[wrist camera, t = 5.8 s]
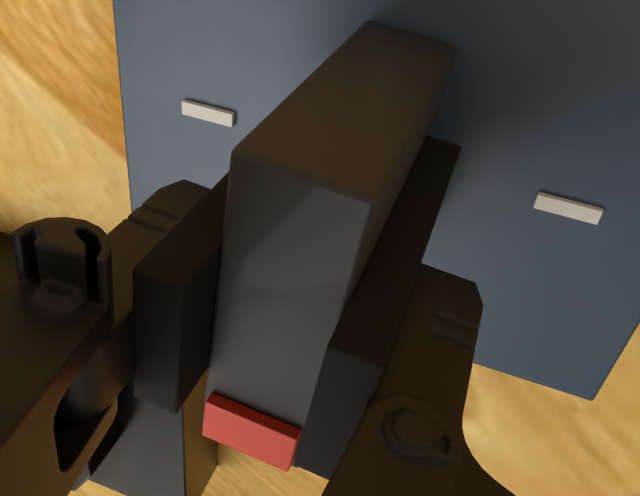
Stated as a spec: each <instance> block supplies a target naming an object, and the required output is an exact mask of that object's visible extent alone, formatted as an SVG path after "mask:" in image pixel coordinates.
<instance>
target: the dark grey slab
mask: <svg viewBox="0 0 640 496" xmlns="http://www.w3.org/2000/svg"><path fill="white" fill-rule="evenodd" d="M456 54H457V48H456V47H455V46H452V45H449V44H446V43H442V42H439V41H436V40H432V39H429V38H426V37H423V36H419V35H416V34H413V33H409V32H406V31H403V30H399V29H396V28H393V27H390V26H386V25H383V24H380V23H376V22H373V21H366V22H365V23H364V24H363V25H362V26H361V27H360V28H358V29H357V30H356V31H355V32H354V33H353V34H352V35H351V36H350V37H349V38H348V39H347V40H346V41H345V42H344V43H343V44H342V45H341V46H340V47H339V48H338V49H337V50H336V51H334V52H333V53H332V54H331V55H330V56H329V57H328V58H327V59H326V60H325V61H324V62H323V63H322V64H321V65H320V66H319V67H318V68H317V69H316V70H315V71H314V72H313V73H311V74H310V75H309V76H308V77H307V78H306V79H305V80H304V81H303V82H302V83H301V84H300V85H299V86H298V87H297V88H296V89H295V90H294V91H293V92H292V93H291V94H290V95H288V96H287V97H286V98H285V99H284V100H283V101H282V102H281V103H280V104H279V105H278V106H277V107H276V108H275V109H274V110H273V111H272V112H271V113H270V114H269V115H268V116H267V117H266V118H264V119H263V120H262V121H261V122H260V123H259V124H258V125H257V126H256V127H255V128H254V129H253V130H252V131H251V132H250V133H249V134H248V135H247V136H246V137H245V138H244V139H243V140H241V141H240V142H239V143H238V144H237V145H236V146H235V147H234V148H233V150H232V151H231V159H230V168H229V177H228V187H227V196H226V205H225V215H224V224H223V233H222V243H221V252H220V261H219V271H218V280H217V289H216V299H215V308H214V317H213V327H212V336H211V345H210V355H209V364H208V373H207V383H206V392H205V401H204V411H203V420H202V426H203V431H202V435H203V436H205V437H208V438H210V439H212V440H215V441H217V442H219V443H222V444H224V445H226V446H229V447H231V448H233V449H236V450H238V451H240V452H243V453H245V454H247V455H250V456H252V457H254V458H256V459H259V460H261V461H263V462H266V463H268V464H270V465H273V466H275V467H277V468H280V469H282V470H284V471H287V472H288V471H289V469H290V467H291V465H292V466H294V467H298V466H296V465H294V461H295V458H296V454H297V451H298V447H299V444H300V440H301V437H302V433H303V429H304V426H305V422H306V419H307V415H308V412H309V408H310V405H311V401H312V398H313V394H314V390H315V387H316V383H317V380H318V376H319V373H320V369H321V366H322V362H323V359H324V355H325V351H326V348H327V345H328V343H329V341H330V338H331V336H332V334H333V332H334V330H335V328H336V326H337V324H338V322H339V319H340V317H341V315H342V313H343V311H344V309H345V307H346V305H347V303H348V301H349V298H350V296H351V294H352V293H353V291H354V289H355V287H356V285H357V283H358V281H359V278H360V276H361V274H362V272H363V270H364V268H365V266H366V264H367V261H368V259H369V257H370V255H371V253H372V251H373V249H374V247H375V245H376V242H377V240H378V238H379V236H380V234H381V232H382V230H383V228H384V225H385V223H386V221H387V219H388V217H389V215H390V213H391V211H392V208H393V206H394V204H395V202H396V200H397V198H398V196H399V194H400V192H401V189H402V187H403V185H404V183H405V181H406V179H407V177H408V175H409V172H410V170H411V168H412V166H413V164H414V162H415V160H416V158H417V155H418V153H419V151H420V149H421V147H422V145H423V143H424V141H425V139H426V136H427V135H428V136H429V135H430V132H431V129H432V126H433V123H434V120H435V117H436V114H437V111H438V108H439V105H440V102H441V99H442V96H443V93H444V90H445V87H446V84H447V81H448V78H449V75H450V72H451V69H452V66H453V63H454V60H455V57H456Z"/></svg>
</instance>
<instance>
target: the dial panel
mask: <svg viewBox="0 0 640 496" xmlns="http://www.w3.org/2000/svg"><path fill="white" fill-rule="evenodd" d="M112 1H113V12H114V23H115V34H116V45H117V56H118V67H119V78H120V89H121V100H122V111H123V122H124V133H125V144H126V155H127V166H128V177H129V188H130V199H131V209H132V212H133V211H134V210H136V209H137V208H138V207H141V206H142V203H143V202H145V201H146V200H147V199H148V198H149V197H150V196H151V195H152V194H154V193H155V192H156V191H157V190H158V189H159V188H162V187H165V186H167V185H170V184H172V183H175V182H178V181H180V180H183V179H185V180H188V181H190V182H193V183H196V184H199V185H201V186H204V187H207V188H210V189H212V188H213V187H214V186H215V185H216V184H217V183H218V182H219V181H220V180H221V179H222V178H223V177H224V176H225V175H226V174H227V173H228V172H229V168H230V159H231V151H232V150H233V148H234V147H235V146H236V145H237V144H238V143H239V142H240V141H241V140H243V139H244V138H245V137H246V136H247V135H248V134H249V133H250V132H251V131H252V130H253V129H254V128H255V127H256V126H257V125H258V124H259V123H260V122H261V121H262V120H263V119H264V118H266V117H267V116H268V115H269V114H270V113H271V112H272V111H273V110H274V109H275V108H276V107H277V106H278V105H279V104H280V103H281V102H282V101H283V100H284V99H285V98H286V97H287V96H288V95H290V94H291V93H292V92H293V91H294V90H295V89H296V88H297V87H298V86H299V85H300V84H301V83H302V82H303V81H304V80H305V79H306V78H307V77H308V76H309V75H310V74H311V73H313V72H314V71H315V70H316V69H317V68H318V67H319V66H320V65H321V64H322V63H323V62H324V61H325V60H326V59H327V58H328V57H329V56H330V55H331V54H332V53H333V52H334V51H336V50H337V49H338V48H339V47H340V46H341V45H342V44H343V43H344V42H345V41H346V40H347V39H348V38H349V37H350V36H351V35H352V34H353V33H354V32H355V31H356V30H357V29H358V28H360V27H361V26H362V25H363V24H364V23H365V22H366V21H373V22H376V23H380V24H383V25H386V26H390V27H393V28H396V29H399V30H403V31H406V32H409V33H413V34H416V35H419V36H423V37H426V38H429V39H432V40H436V41H439V42H442V43H446V44H449V45H452V46H455V47H456V48H457V54H456V57H455V60H454V63H453V66H452V69H451V72H450V75H449V78H448V81H447V84H446V87H445V90H444V93H443V96H442V99H441V102H440V105H439V108H438V111H437V114H436V117H435V120H434V123H433V126H432V129H431V132H430V135H429V136H431V137H434V138H437V139H440V140H443V141H446V142H449V143H452V144H455V145H458V146H461V147H462V148H461V151H460V153H459V156H458V159H457V162H456V165H455V168H454V171H453V173H452V176H451V179H450V182H449V185H448V188H447V190H446V193H445V196H444V199H443V202H442V205H441V208H440V210H439V213H438V216H437V219H436V222H435V225H434V228H433V230H432V233H431V236H430V239H429V242H428V245H427V248H426V250H425V253H424V256H423V259H422V262H421V263H423V264H426V265H429V266H431V267H434V268H437V269H440V270H442V271H445V272H448V273H451V274H453V275H456V276H459V277H462V278H465V279H467V280H470V281H473V282H475V283H476V285H477V288H478V291H479V294H480V297H481V299H482V302H483V305H484V306H483V311H482V316H481V322H480V327H479V329H478V331H479V332H478V337H477V342H476V346H475V353H474V358H473V363H476V364H479V365H482V366H485V367H488V368H491V369H494V370H497V371H500V372H503V373H507V374H510V375H513V376H516V377H519V378H522V379H525V380H528V381H531V382H534V383H538V384H541V385H544V386H547V387H550V388H553V389H556V390H559V391H562V392H565V393H568V394H572V395H575V396H578V397H581V398H584V399H587V400H591V401H592V400H594V398H595V396H596V395H597V393H598V391H599V390H600V388H601V386H602V385H603V383H604V381H605V380H606V378H607V376H608V375H609V373H610V371H611V370H612V368H613V366H614V365H615V363H616V361H617V360H618V358H619V356H620V355H621V353H622V351H623V350H624V348H625V346H626V345H627V343H628V341H629V340H630V338H631V336H632V334H633V333H634V331H635V329H636V328H637V326H638V324H639V323H640V0H112Z"/></svg>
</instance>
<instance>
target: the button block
mask: <svg viewBox="0 0 640 496" xmlns="http://www.w3.org/2000/svg"><path fill="white" fill-rule="evenodd" d="M0 281H2V282H17V281H18V274H17V268H16V262H15V256H14V250H13V244H12V238H11V235H8V234H5V233H2V232H0ZM207 373H208V368H207V370H206V371H205V373H204V374H203V376H202V377H201V378H200V380H199V381H198V383H197V384H196V386H195V387H194V389H193V390H192V392H191V393H190V395H189V396H188V398H187V399H186V401H185V402H184V404H183V405H182V407H181V408H180V410H179V411H178V413H177V414H174V413H171V412H169V411H167V410H164V409H162V408H160V407H157V406H155V405H153V404H150V403H148V402H146V401H143V400H141V399H139V398H136V397H134V375H133V376H132V378H131V379H130V380H129V381H128V383H127V384H126V385H125V387H124V388H123V389H122V390H121V392H120V393H119V394H118V395H117V403H118V409H117V412H116V415H115V418H114V420H113V423H112V424H111V426H110V427H109V429H108V431H107V432H106V434H105V436H104V437H103V439H102V440H101V442H100V444H99V445H98V447H97V448H96V450H95V452H94V453H93V455H92V457H91V458H90V460H89V461H88V463H87V465H86V466H85V468H84V469H83V471H82V473H81V474H80V476H79V478H78V479H77V481H76V482H75V484H74V486H73V487H72V489H71V490H72V491H76V490H77V489H78V488H79V487H80V486H82V485H83V484H84V483H85V482H86V481H87V480H91V481H93V482H95V483H98V484H100V485H103V486H105V487H108V488H110V489H112V490H115V491H117V492H120V493H122V494H125V495H127V496H201V494H202V492H203V491H204V489H205V487H206V485H207V483H208V482H209V480H210V478H211V476H212V474H213V473H214V471H215V469H216V461H217V441H215V440H212V439H210V438H208V437H205V436H203V435H202V431H203V426H202V420H203V411H204V401H205V392H206V383H207Z"/></svg>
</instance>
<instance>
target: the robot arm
mask: <svg viewBox="0 0 640 496" xmlns="http://www.w3.org/2000/svg"><path fill="white" fill-rule="evenodd" d="M461 148H462V147H461V146H458V145H455V144H452V143H449V142H446V141H443V140H440V139H437V138H434V137H431V136H428V135H427V136H426V139H425V141H424V143H423V145H422V147H421V149H420V151H419V153H418V155H417V158H416V160H415V162H414V164H413V166H412V168H411V170H410V172H409V175H408V177H407V179H406V181H405V183H404V185H403V187H402V189H401V192H400V194H399V196H398V198H397V200H396V202H395V204H394V206H393V208H392V211H391V213H390V215H389V217H388V219H387V221H386V223H385V225H384V228H383V230H382V232H381V234H380V236H379V238H378V240H377V242H376V245H375V247H374V249H373V251H372V253H371V255H370V257H369V259H368V261H367V264H366V266H365V268H364V270H363V272H362V274H361V276H360V278H359V281H358V283H357V285H356V287H355V289H354V291H353V293H352V294H351V296H350V298H349V301H348V303H347V305H346V307H345V309H344V311H343V313H342V315H341V317H340V319H339V322H338V324H337V326H336V328H335V330H334V332H333V334H332V336H331V338H330V341H329V343H328V345H327V348H326V351H325V355H324V359H323V362H322V366H321V369H320V373H319V376H318V380H317V383H316V387H315V390H314V394H313V398H312V401H311V405H310V408H309V412H308V415H307V419H306V422H305V426H304V429H303V433H302V437H301V440H300V444H299V447H298V451H297V454H296V458H295V461H294V465H296V466H298V467H300V468H303V469H305V470H307V471H310V472H312V473H314V474H317V475H319V476H321V477H324V478H326V479H328V480H329V482H328V484H327V486H326V488H325V490H324V491H323V493H322V495H321V496H515V495H514V494H513V493H511V492H510V491H509V490H507V489H506V488H505V487H503V486H502V485H501V484H499V483H498V482H497V481H496V480H494V479H493V478H492V477H491V476H490V475H489V474H488V473H487V472H486V471H484V470H483V469H482V467H481V466H480V465H479V464H478V462H477V461H476V460H475V458H474V457H473V456H472V454H471V452H470V450H469V448H468V446H467V444H466V442H465V438H464V434H463V430H462V416H463V410H464V405H465V400H466V395H467V390H468V384H469V379H470V374H471V369H472V363H473V358H474V353H475V346H476V342H477V337H478V332H479V331H478V329H479V327H480V322H481V316H482V311H483V306H484V305H483V302H482V299H481V297H480V294H479V291H478V288H477V285H476V283H475V282H473V281H470V280H467V279H465V278H462V277H459V276H456V275H453V274H451V273H448V272H445V271H442V270H440V269H437V268H434V267H431V266H429V265H426V264H423V263H421V262H422V259H423V256H424V253H425V250H426V248H427V245H428V242H429V239H430V236H431V233H432V230H433V228H434V225H435V222H436V219H437V216H438V213H439V210H440V208H441V205H442V202H443V199H444V196H445V193H446V190H447V188H448V185H449V182H450V179H451V176H452V173H453V171H454V168H455V165H456V162H457V159H458V156H459V153H460V151H461ZM228 177H229V172H228V173H227V174H226V175H225V176H224V177H223V178H222V179H221V180H220V181H219V182H218V183H217V184H216V185H215V186H214V187H213V188H212V189H210V188H207V187H204V186H201V185H199V184H196V183H193V182H190V181H188V180H185V179H183V180H180V181H178V182H175V183H172V184H170V185H167V186H165V187H162V188H159V189H158V190H157V191H156V192H155V193H154V194H152V195H151V196H150V197H149V198H148V199H147V200H146V201H145V202H143V203H142V206H141V207H138V208H137V209H136V210H134V211H133V212H132V213H131V214H130V215H129V216H128V219H124V220H123V221H122V222H121V223H120V224H119V225H117V226H116V227H115V228H114V229H113V230H112V231H111V232H110V233H108V234H106V233H105V232H104V231H103V230H102V229H101V228H100V227H98V226H96V225H94V224H92V223H90V222H88V221H85V220H80V219H74V218H68V217H59V218H45V219H41V220H38V221H35V222H31V223H28V224H25V225H24V226H22V227H20V228H19V229H17V230H16V231H14V232H12V233H11V238H12V244H13V250H14V256H15V262H16V268H17V274H18V281H17V282H2V281H0V496H67V495H68V494H69V492H70V491H71V489H72V487H73V486H74V484H75V482H76V481H77V479H78V478H79V476H80V474H81V473H82V471H83V469H84V468H85V466H86V465H87V463H88V461H89V460H90V458H91V457H92V455H93V453H94V452H95V450H96V448H97V447H98V445H99V444H100V442H101V440H102V439H103V437H104V436H105V434H106V432H107V431H108V429H109V427H110V426H111V424H112V423H113V420H114V418H115V415H116V412H117V409H118V403H117V395H118V394H119V393H120V392H121V390H122V389H123V388H124V387H125V385H126V384H127V383H128V381H129V380H130V379H131V378H132V376H133V375H134V397H136V398H139V399H141V400H143V401H146V402H148V403H150V404H153V405H155V406H157V407H160V408H162V409H164V410H167V411H169V412H171V413H174V414H177V413H178V411H179V410H180V408H181V407H182V405H183V404H184V402H185V401H186V399H187V398H188V396H189V395H190V393H191V392H192V390H193V389H194V387H195V386H196V384H197V383H198V381H199V380H200V378H201V377H202V376H203V374H204V373H205V371H206V370H207V368H208V364H209V355H210V345H211V336H212V327H213V317H214V308H215V299H216V289H217V280H218V271H219V261H220V252H221V243H222V233H223V224H224V215H225V205H226V196H227V187H228Z"/></svg>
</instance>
